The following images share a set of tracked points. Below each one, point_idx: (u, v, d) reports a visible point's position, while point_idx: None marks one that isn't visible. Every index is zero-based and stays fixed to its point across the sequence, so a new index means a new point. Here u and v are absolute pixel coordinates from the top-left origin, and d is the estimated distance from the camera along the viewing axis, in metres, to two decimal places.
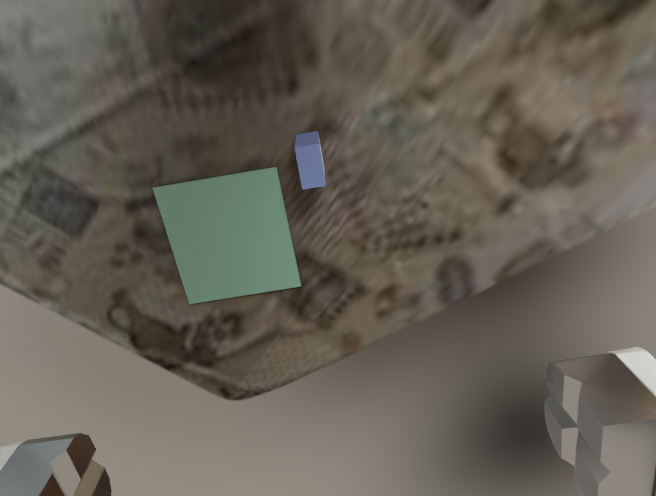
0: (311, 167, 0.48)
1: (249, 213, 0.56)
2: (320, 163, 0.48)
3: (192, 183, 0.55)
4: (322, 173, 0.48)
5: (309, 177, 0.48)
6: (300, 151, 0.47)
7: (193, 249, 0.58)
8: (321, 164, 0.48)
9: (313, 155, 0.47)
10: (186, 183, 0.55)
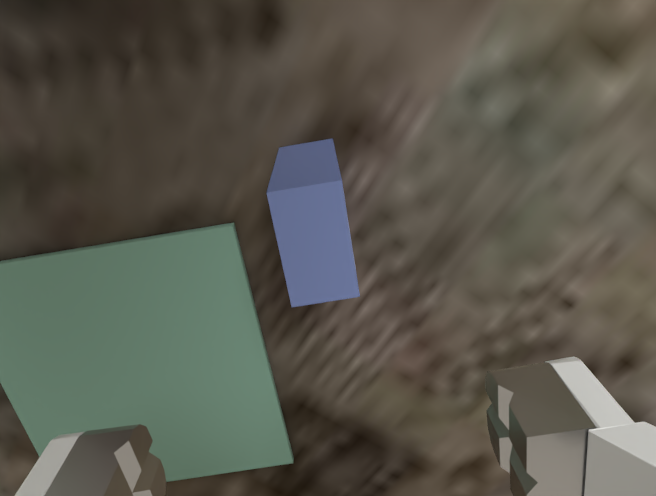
0: (317, 248, 0.16)
1: (175, 325, 0.25)
2: (344, 237, 0.16)
3: (34, 261, 0.23)
4: (349, 264, 0.17)
5: (311, 275, 0.17)
6: (284, 203, 0.16)
7: (56, 397, 0.26)
8: (347, 239, 0.16)
9: (324, 213, 0.16)
10: (21, 262, 0.23)
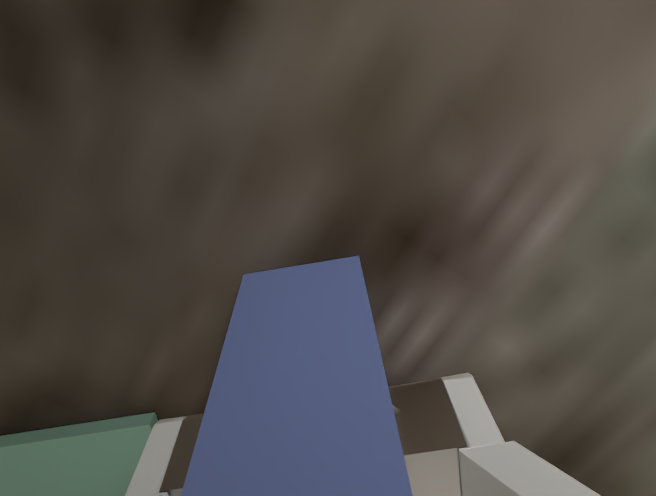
0: None
1: None
2: None
3: None
4: None
5: None
6: None
7: None
8: None
9: None
10: None
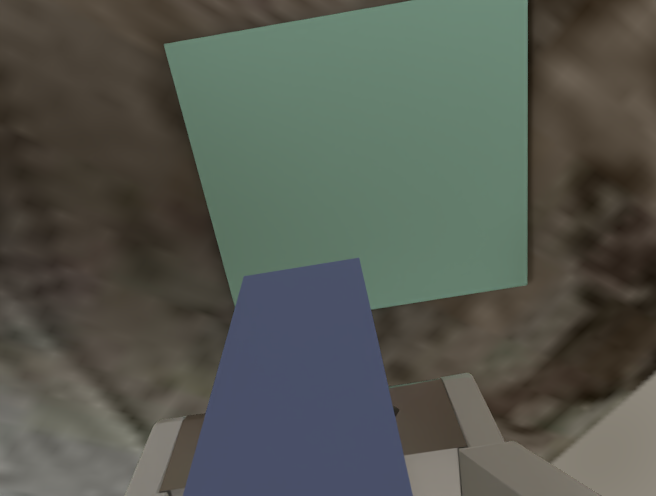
0: None
1: (295, 125, 0.22)
2: None
3: (224, 252, 0.24)
4: None
5: None
6: None
7: (386, 263, 0.25)
8: None
9: None
10: (225, 264, 0.24)
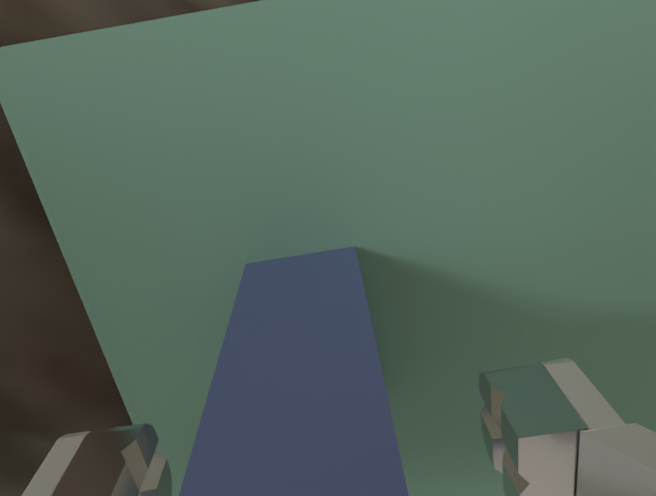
0: None
1: (283, 220, 0.10)
2: None
3: None
4: None
5: None
6: None
7: (456, 460, 0.13)
8: None
9: None
10: None
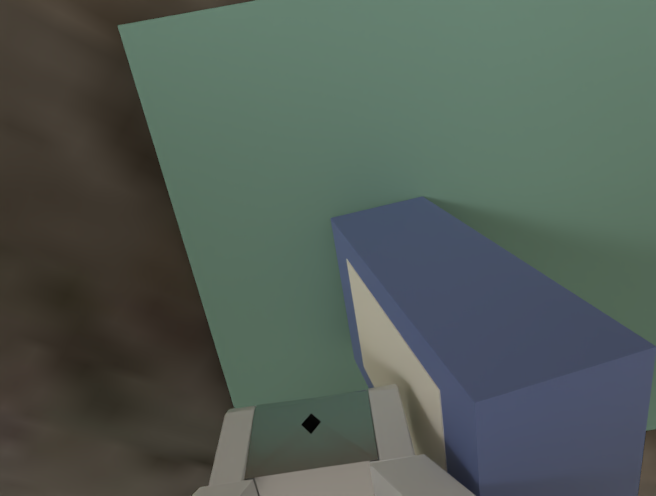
0: None
1: (362, 173, 0.12)
2: (629, 467, 0.07)
3: (232, 381, 0.14)
4: None
5: None
6: (515, 419, 0.06)
7: None
8: (634, 471, 0.07)
9: (599, 425, 0.06)
10: (235, 398, 0.15)
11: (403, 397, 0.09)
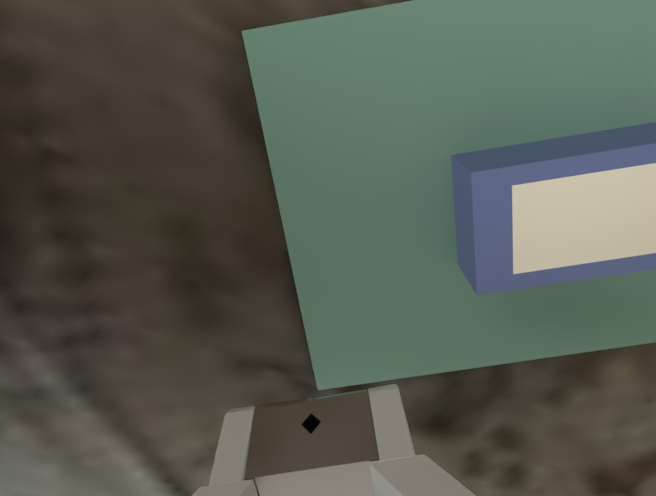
0: None
1: (406, 137, 0.17)
2: None
3: (303, 297, 0.19)
4: None
5: None
6: None
7: (506, 312, 0.19)
8: None
9: None
10: (303, 311, 0.19)
11: (613, 215, 0.15)
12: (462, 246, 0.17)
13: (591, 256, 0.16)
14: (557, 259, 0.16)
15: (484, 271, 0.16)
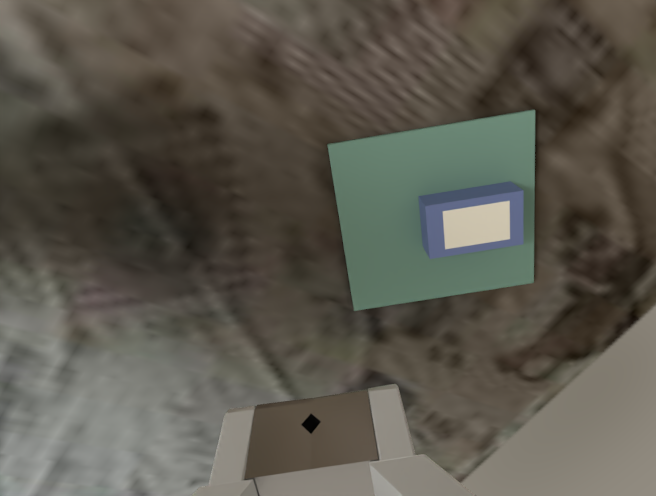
0: None
1: (398, 188, 0.37)
2: None
3: (348, 263, 0.39)
4: None
5: None
6: None
7: (447, 269, 0.40)
8: None
9: None
10: (348, 270, 0.40)
11: (486, 223, 0.36)
12: (423, 237, 0.38)
13: (478, 241, 0.36)
14: (464, 242, 0.36)
15: (432, 248, 0.36)
